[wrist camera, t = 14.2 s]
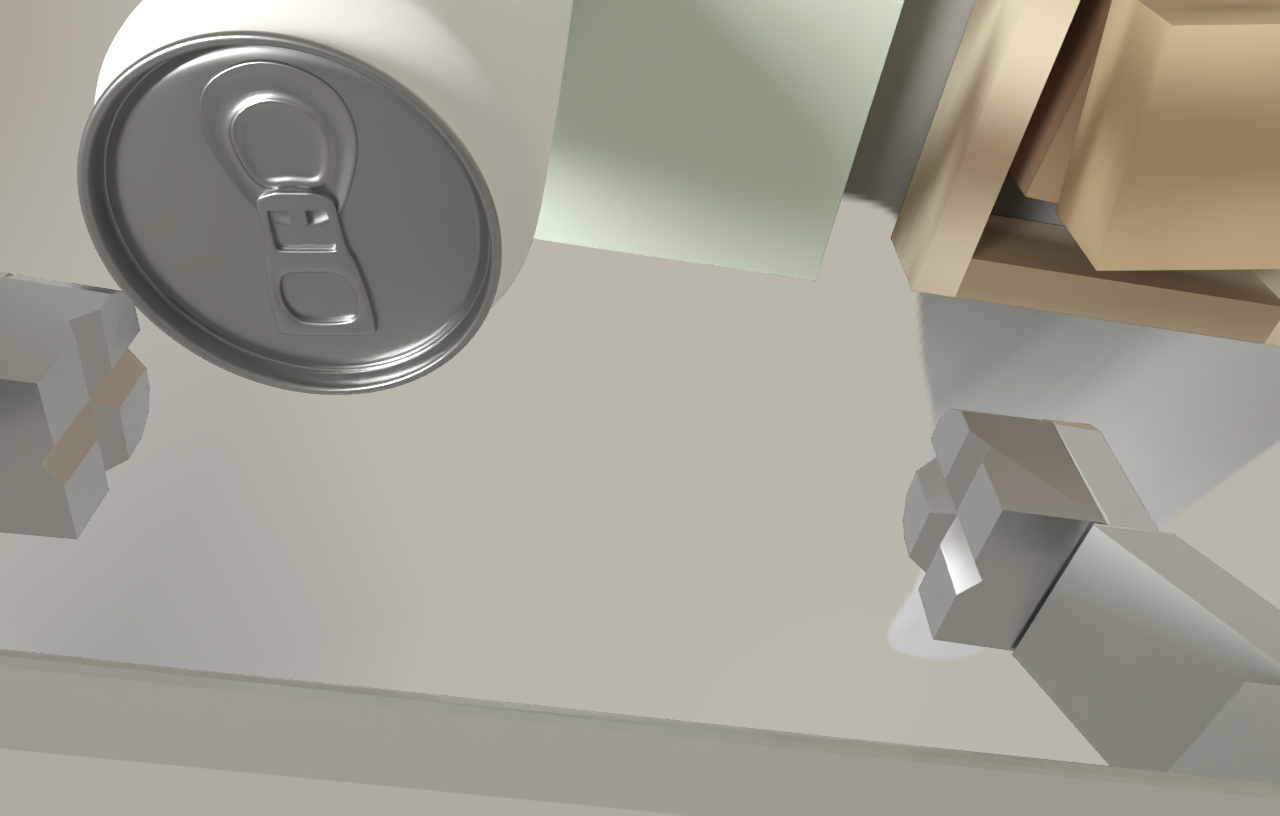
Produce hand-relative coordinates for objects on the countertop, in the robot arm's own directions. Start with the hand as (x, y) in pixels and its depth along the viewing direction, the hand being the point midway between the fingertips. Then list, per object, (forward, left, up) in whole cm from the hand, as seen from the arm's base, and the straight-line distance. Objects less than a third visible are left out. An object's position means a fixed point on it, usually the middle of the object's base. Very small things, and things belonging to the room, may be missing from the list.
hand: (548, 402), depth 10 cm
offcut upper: (0, -15, -15) cm, 21 cm away
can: (0, +4, -16) cm, 17 cm away
